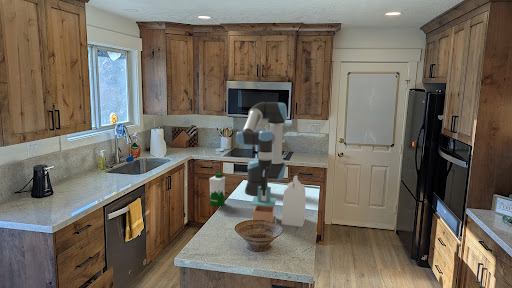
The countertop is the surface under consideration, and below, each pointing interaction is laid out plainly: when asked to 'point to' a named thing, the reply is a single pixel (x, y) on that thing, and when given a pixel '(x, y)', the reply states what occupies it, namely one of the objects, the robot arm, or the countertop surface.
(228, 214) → the mat
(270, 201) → the lid
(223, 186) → the milk carton
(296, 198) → the milk
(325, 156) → the countertop surface
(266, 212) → the pot
